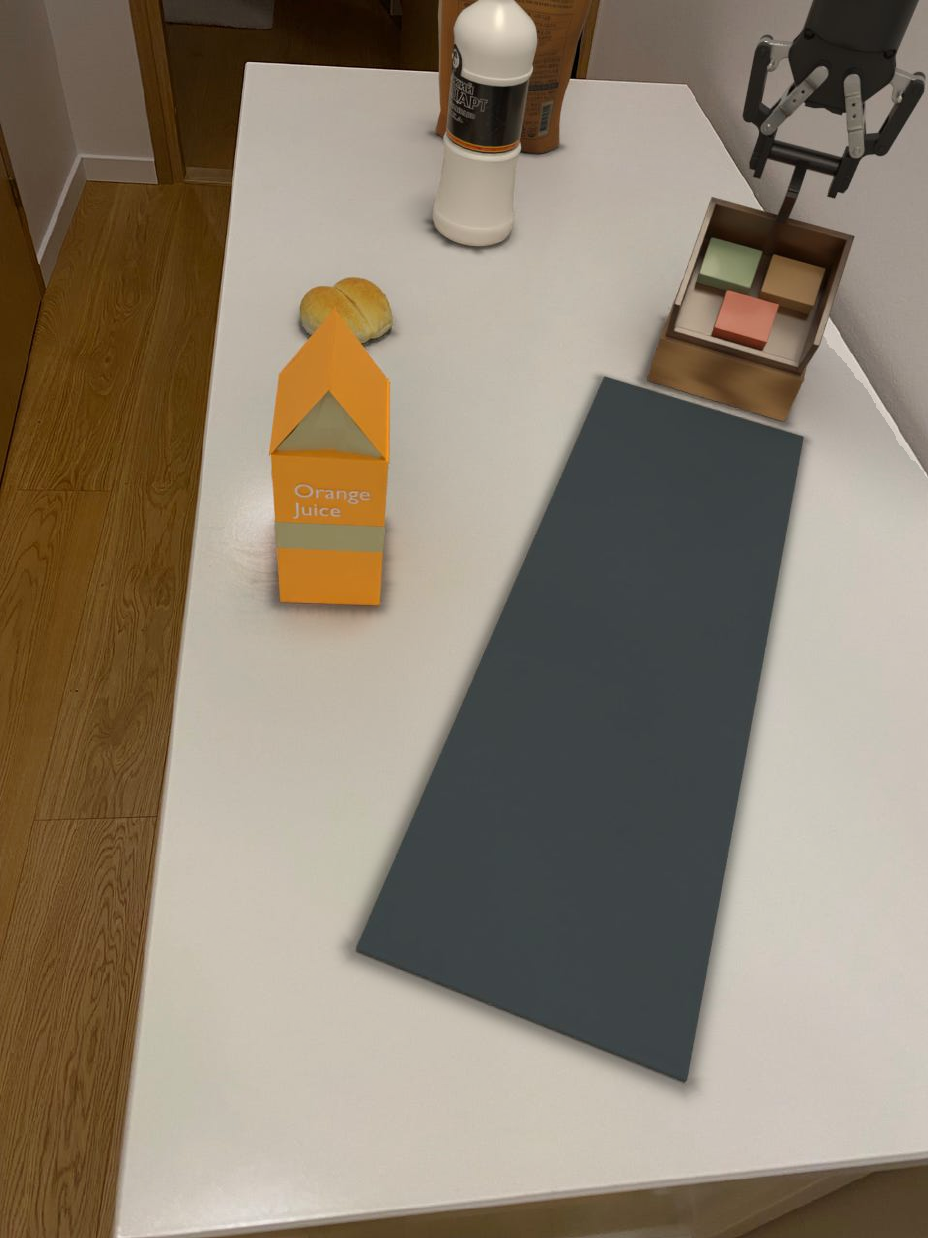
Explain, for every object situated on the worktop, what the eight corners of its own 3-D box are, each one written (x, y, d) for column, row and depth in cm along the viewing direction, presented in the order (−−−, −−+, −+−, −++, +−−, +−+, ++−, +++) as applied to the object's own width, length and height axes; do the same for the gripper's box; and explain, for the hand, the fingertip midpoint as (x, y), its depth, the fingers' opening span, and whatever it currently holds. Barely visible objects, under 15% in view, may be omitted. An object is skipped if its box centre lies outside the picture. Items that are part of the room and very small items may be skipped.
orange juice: (382, 523, 78) (395, 309, 62) (381, 606, 72) (395, 393, 57) (285, 519, 77) (274, 301, 62) (277, 602, 71) (262, 385, 56)
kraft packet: (820, 277, 90) (825, 268, 88) (808, 314, 89) (813, 305, 88) (769, 263, 91) (773, 253, 89) (756, 299, 90) (760, 290, 88)
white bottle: (518, 250, 107) (570, -63, 84) (437, 249, 106) (467, -72, 82) (504, 209, 113) (549, -96, 90) (427, 206, 111) (452, -105, 88)
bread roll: (285, 314, 95) (284, 278, 92) (363, 292, 99) (364, 257, 95) (327, 359, 91) (327, 322, 88) (405, 335, 95) (408, 299, 92)
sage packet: (758, 260, 91) (762, 250, 89) (746, 296, 90) (750, 287, 89) (708, 246, 91) (711, 236, 90) (695, 282, 91) (698, 273, 89)
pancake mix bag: (571, 164, 122) (623, -100, 101) (424, 148, 120) (445, -124, 99) (567, 140, 126) (617, -118, 105) (425, 124, 125) (445, -141, 103)
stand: (797, 358, 100) (816, 316, 96) (784, 422, 93) (804, 379, 89) (669, 320, 102) (682, 278, 98) (646, 380, 94) (660, 337, 90)
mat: (802, 439, 91) (803, 436, 91) (685, 1082, 53) (687, 1080, 53) (603, 379, 94) (604, 375, 93) (355, 950, 56) (356, 948, 55)
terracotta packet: (775, 313, 90) (779, 304, 88) (762, 350, 89) (766, 342, 87) (723, 298, 90) (727, 289, 89) (711, 335, 90) (714, 326, 88)
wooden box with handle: (846, 234, 91) (885, 163, 81) (800, 376, 89) (834, 321, 79) (713, 197, 93) (735, 124, 83) (664, 336, 91) (681, 278, 80)
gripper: (975, -27, 72) (877, 186, 85) (790, -71, 74) (722, 145, 87) (974, 4, 68) (871, 225, 81) (777, -42, 70) (707, 181, 83)
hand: (794, 183), depth 84 cm, fingers closed on wooden box with handle, 6 cm apart
